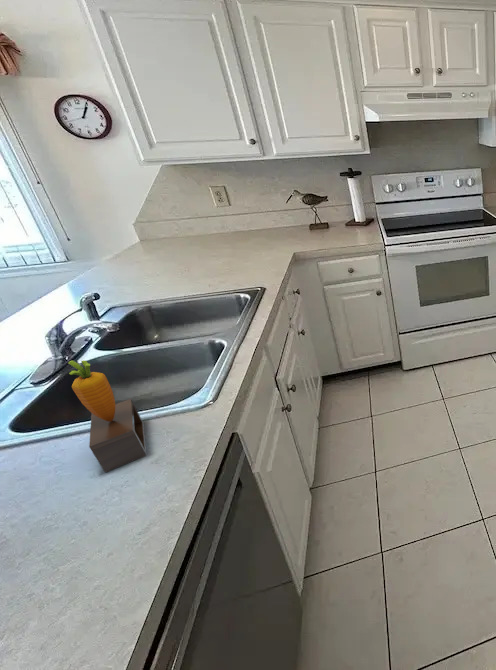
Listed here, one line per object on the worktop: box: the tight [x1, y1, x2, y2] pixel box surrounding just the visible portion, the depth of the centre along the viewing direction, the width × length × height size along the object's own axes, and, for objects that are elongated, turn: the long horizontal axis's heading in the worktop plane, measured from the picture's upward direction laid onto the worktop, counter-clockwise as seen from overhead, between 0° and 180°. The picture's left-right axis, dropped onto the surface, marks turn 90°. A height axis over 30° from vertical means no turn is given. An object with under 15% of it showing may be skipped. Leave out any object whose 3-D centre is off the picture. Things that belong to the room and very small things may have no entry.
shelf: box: [88, 398, 147, 474], centre depth 87 cm, size 13×7×7 cm, turn 41°
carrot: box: [68, 359, 116, 422], centre depth 82 cm, size 5×5×15 cm
